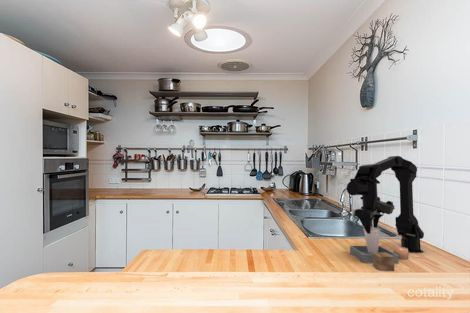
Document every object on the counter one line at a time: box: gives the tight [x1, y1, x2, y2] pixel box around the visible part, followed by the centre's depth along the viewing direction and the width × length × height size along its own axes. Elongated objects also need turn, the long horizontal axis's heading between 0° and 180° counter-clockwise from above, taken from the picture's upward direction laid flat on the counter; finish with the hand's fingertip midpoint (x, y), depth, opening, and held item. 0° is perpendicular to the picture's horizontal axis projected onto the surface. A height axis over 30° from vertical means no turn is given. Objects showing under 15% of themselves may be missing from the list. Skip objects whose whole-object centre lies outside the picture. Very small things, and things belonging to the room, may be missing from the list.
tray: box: [349, 245, 400, 265], centre depth 104 cm, size 13×13×3 cm
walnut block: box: [372, 253, 395, 272], centre depth 92 cm, size 5×5×5 cm
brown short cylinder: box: [393, 245, 410, 261], centre depth 104 cm, size 5×5×4 cm
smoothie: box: [362, 220, 381, 253], centre depth 104 cm, size 6×6×14 cm
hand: (371, 232), depth 104 cm, fingers closed on smoothie, 6 cm apart
